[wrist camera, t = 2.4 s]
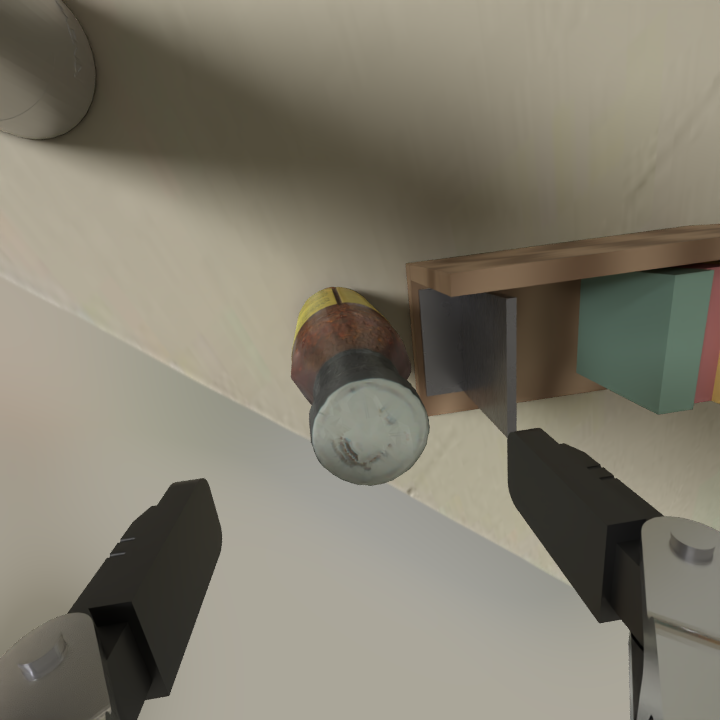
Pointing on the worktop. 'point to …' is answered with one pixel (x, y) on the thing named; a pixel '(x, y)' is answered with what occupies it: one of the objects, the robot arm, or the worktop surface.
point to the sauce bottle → (357, 389)
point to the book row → (653, 335)
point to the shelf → (547, 299)
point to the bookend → (472, 350)
